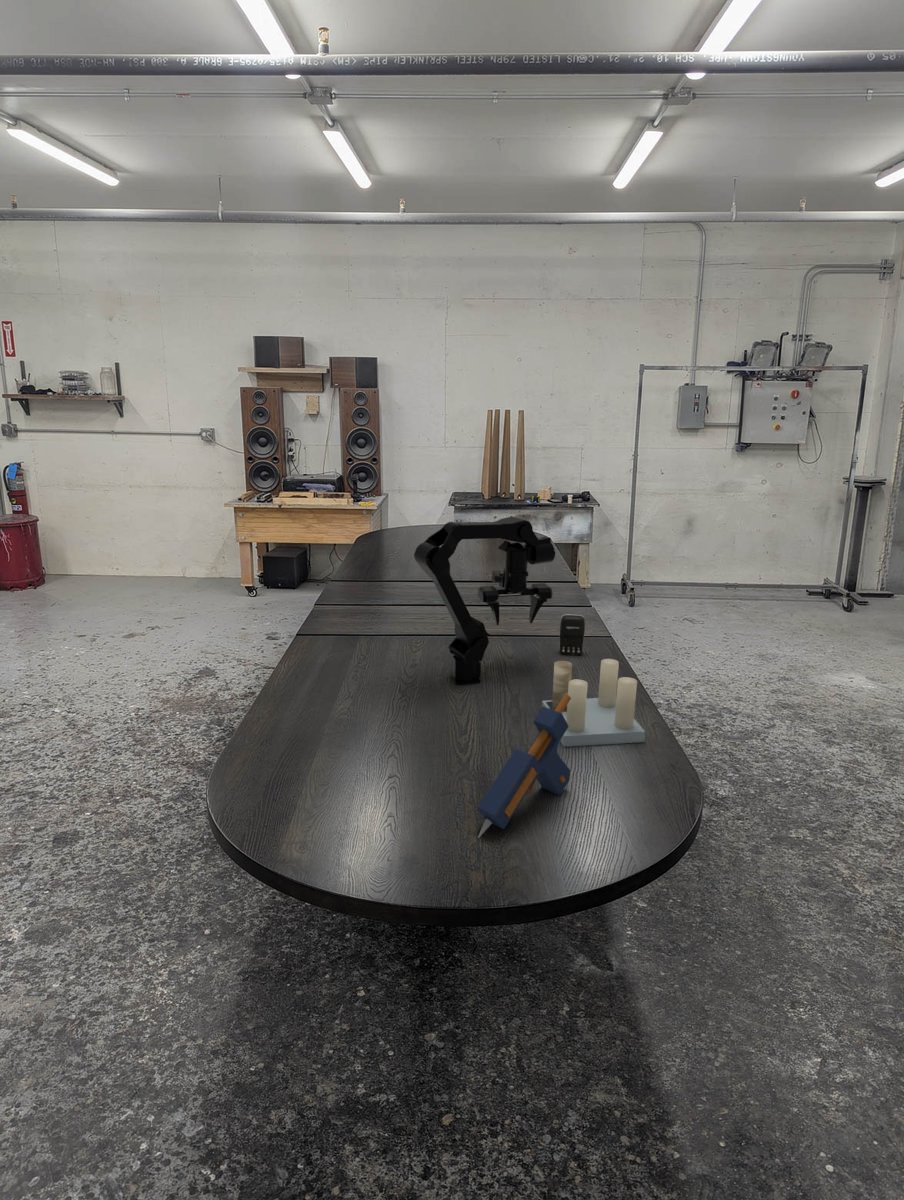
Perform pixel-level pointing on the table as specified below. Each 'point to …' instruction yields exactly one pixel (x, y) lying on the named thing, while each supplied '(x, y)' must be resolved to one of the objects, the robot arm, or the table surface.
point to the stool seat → (601, 710)
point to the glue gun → (529, 769)
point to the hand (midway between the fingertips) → (514, 623)
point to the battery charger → (571, 634)
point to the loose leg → (561, 682)
